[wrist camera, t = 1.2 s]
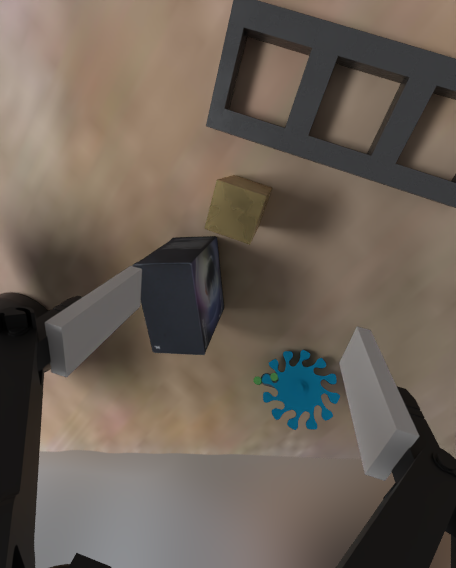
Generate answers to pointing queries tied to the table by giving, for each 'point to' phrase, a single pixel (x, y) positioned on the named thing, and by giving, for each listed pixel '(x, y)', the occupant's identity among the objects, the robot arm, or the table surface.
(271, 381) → the gear
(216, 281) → the small box
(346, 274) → the table surface
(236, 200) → the olive yellow block
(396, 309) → the table surface
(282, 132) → the grey flat frame
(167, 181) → the table surface
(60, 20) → the table surface
